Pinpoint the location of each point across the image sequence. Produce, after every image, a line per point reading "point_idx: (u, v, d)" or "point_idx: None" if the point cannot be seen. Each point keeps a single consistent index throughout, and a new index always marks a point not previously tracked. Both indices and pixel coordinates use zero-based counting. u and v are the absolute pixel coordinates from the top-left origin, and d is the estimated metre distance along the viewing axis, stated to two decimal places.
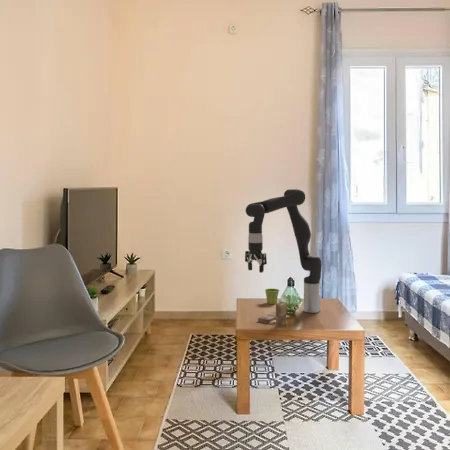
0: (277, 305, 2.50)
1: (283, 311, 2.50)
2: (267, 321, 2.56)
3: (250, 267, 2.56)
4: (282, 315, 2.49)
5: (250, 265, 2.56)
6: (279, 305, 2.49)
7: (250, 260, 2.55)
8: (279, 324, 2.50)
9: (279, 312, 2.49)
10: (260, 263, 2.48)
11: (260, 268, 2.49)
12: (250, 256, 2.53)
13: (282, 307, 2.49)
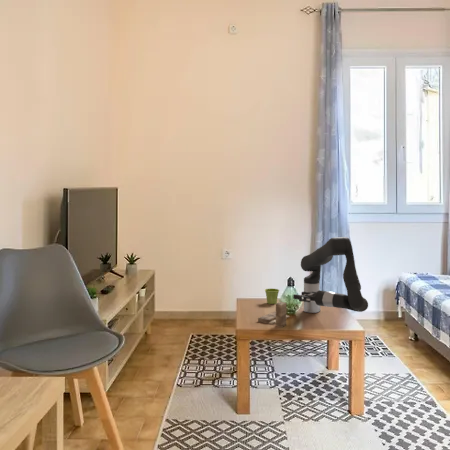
0: (277, 305, 2.50)
1: (283, 311, 2.50)
2: (267, 321, 2.56)
3: None
4: (282, 315, 2.49)
5: None
6: (279, 305, 2.49)
7: None
8: (279, 324, 2.50)
9: (279, 312, 2.49)
10: None
11: None
12: None
13: (282, 307, 2.49)
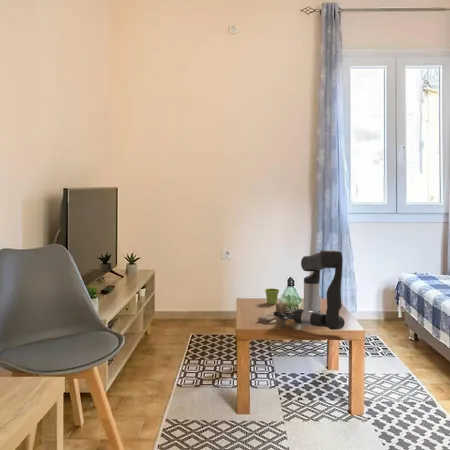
0: (277, 305, 2.50)
1: (283, 311, 2.50)
2: (267, 321, 2.56)
3: None
4: None
5: None
6: (279, 305, 2.49)
7: None
8: (279, 324, 2.50)
9: None
10: None
11: None
12: (288, 318, 2.47)
13: (282, 306, 2.49)
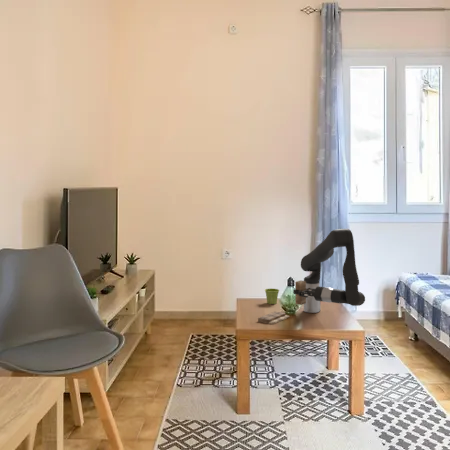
0: (296, 283, 2.51)
1: (303, 289, 2.52)
2: (267, 321, 2.56)
3: None
4: None
5: None
6: (299, 283, 2.51)
7: None
8: (299, 302, 2.51)
9: None
10: None
11: None
12: (308, 296, 2.48)
13: (302, 284, 2.51)
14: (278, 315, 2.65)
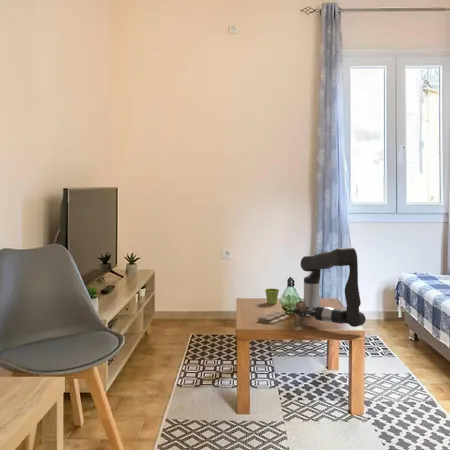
0: (297, 304, 2.52)
1: None
2: (267, 321, 2.56)
3: None
4: None
5: None
6: (299, 304, 2.51)
7: None
8: (299, 323, 2.52)
9: None
10: None
11: None
12: None
13: (303, 305, 2.51)
14: (278, 315, 2.65)
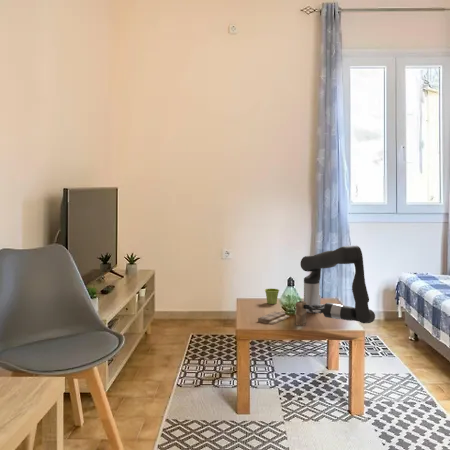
0: (297, 304, 2.52)
1: (303, 310, 2.52)
2: (267, 321, 2.56)
3: None
4: (302, 314, 2.51)
5: None
6: (299, 304, 2.51)
7: None
8: (299, 323, 2.52)
9: (299, 311, 2.51)
10: None
11: None
12: (317, 312, 2.46)
13: (303, 305, 2.51)
14: (278, 315, 2.65)
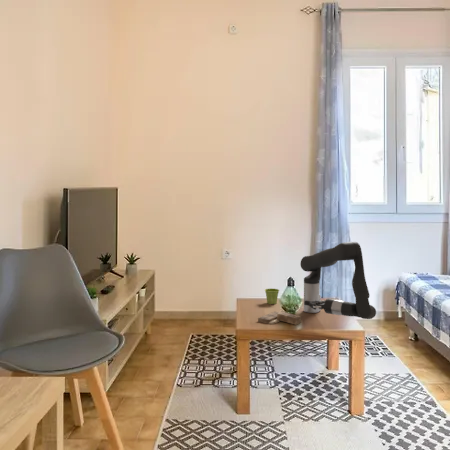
0: (278, 318, 2.60)
1: (285, 314, 2.59)
2: (267, 321, 2.56)
3: None
4: (287, 315, 2.57)
5: None
6: (278, 315, 2.60)
7: None
8: (294, 319, 2.54)
9: (283, 317, 2.58)
10: None
11: None
12: (318, 308, 2.45)
13: (280, 313, 2.60)
14: None
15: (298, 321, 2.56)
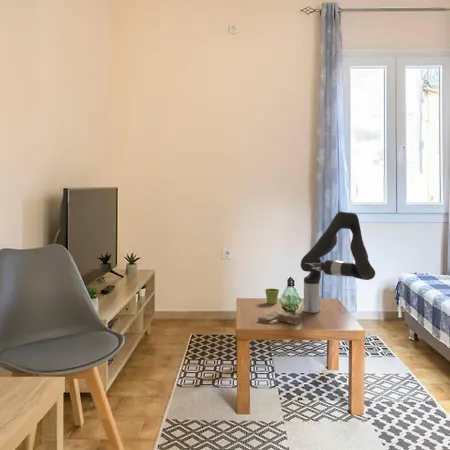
0: (278, 318, 2.60)
1: (285, 314, 2.59)
2: (267, 321, 2.56)
3: None
4: (287, 315, 2.57)
5: None
6: (278, 315, 2.60)
7: None
8: (294, 319, 2.54)
9: (283, 317, 2.58)
10: None
11: None
12: (318, 270, 2.46)
13: (280, 313, 2.60)
14: None
15: (298, 321, 2.56)
